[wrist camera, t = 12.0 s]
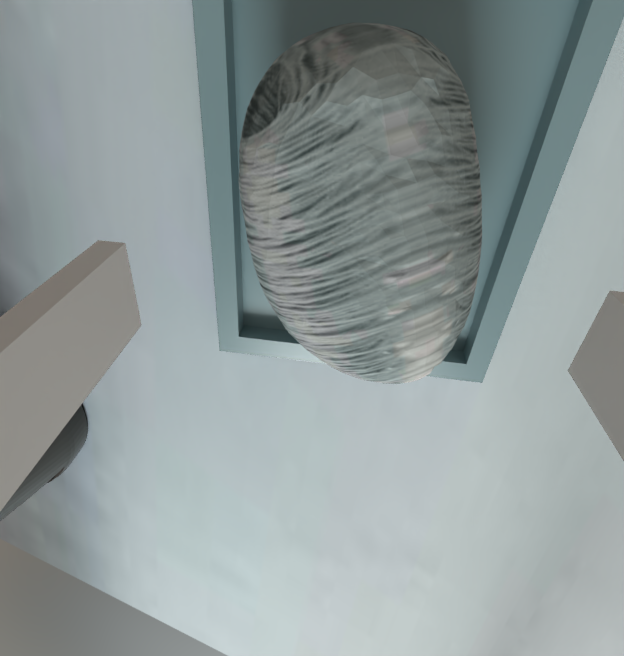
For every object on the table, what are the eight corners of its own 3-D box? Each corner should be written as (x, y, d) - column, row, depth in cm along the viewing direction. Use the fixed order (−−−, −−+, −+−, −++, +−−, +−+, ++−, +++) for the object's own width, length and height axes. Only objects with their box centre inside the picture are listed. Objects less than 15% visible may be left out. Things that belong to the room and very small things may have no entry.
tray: (228, 331, 27) (219, 350, 26) (203, -90, 16) (184, -103, 14) (475, 360, 26) (482, 382, 25) (628, -64, 15) (659, -76, 14)
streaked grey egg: (165, 33, 15) (248, 136, 8) (406, -28, 17) (633, 17, 10) (254, 308, 25) (323, 453, 18) (399, 253, 27) (509, 368, 20)
